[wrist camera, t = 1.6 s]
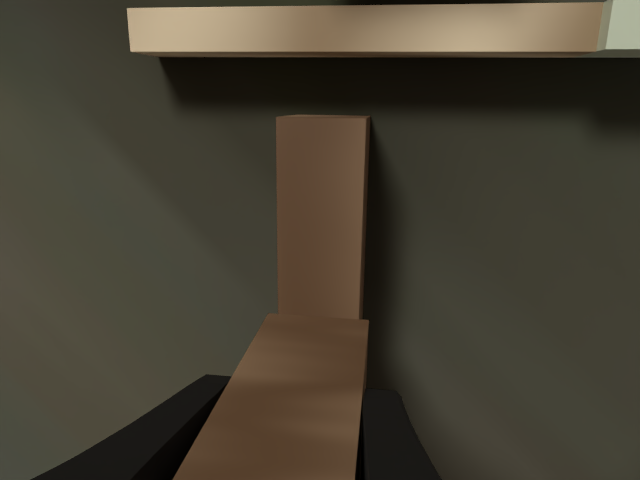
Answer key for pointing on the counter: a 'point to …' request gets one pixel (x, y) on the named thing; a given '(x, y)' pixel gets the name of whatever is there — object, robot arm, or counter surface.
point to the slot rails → (369, 30)
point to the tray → (618, 30)
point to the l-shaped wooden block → (303, 323)
